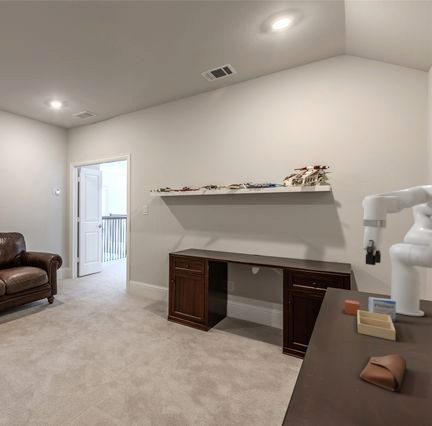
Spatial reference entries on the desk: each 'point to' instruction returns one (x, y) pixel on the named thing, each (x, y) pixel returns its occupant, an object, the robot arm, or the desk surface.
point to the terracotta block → (351, 307)
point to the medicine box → (383, 306)
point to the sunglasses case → (385, 371)
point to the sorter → (375, 325)
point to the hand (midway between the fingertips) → (373, 263)
